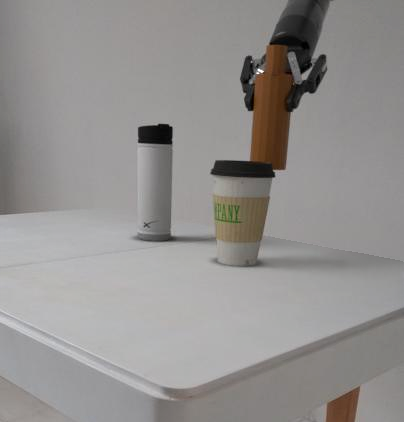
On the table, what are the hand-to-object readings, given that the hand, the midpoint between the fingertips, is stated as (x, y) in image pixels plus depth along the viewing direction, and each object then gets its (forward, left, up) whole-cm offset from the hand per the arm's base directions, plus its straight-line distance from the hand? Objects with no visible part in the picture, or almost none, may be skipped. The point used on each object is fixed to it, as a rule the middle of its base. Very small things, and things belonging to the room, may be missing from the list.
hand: (268, 107), depth 89 cm
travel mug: (+19, -8, -23) cm, 31 cm away
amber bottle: (-1, -2, -9) cm, 9 cm away
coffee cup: (+3, +9, -23) cm, 25 cm away
